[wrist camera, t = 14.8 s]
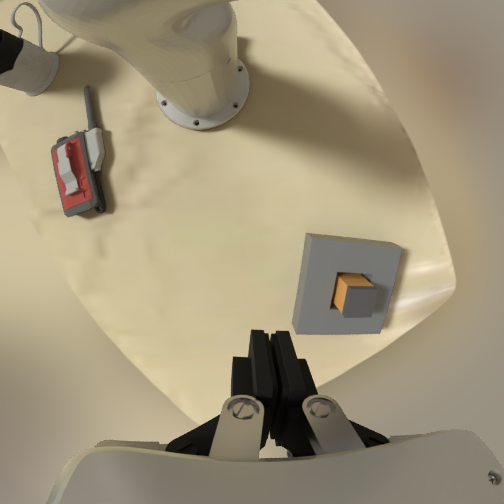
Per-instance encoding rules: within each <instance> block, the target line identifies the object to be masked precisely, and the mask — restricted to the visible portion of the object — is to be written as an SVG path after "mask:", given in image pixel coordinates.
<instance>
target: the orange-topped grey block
mask: <svg viewBox="0 0 504 504" xmlns="http://www.w3.org/2000/svg"><path fill="white" fill-rule="evenodd" d="M377 292H378V289H377V288H376V287H374V286H373V285H372V284H371V283H370V282H369V281H368V280H366V279H365V278H364V277H363V276H362V275H361V274H360V273H347V272H337V275H336V281H335V286H334V291H333V295H332V301H333V302H334V304H335V305H336V306H337V308H338V309H339V311H340V312H341V314H342V315H343V316H344V318H368V317H372V313H373V309H374V305H375V301H376V297H377Z"/></svg>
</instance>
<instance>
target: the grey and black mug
mask: <svg viewBox="0 0 504 504" xmlns="http://www.w3.org/2000/svg"><path fill="white" fill-rule="evenodd" d="M24 4H25V5H27V6H29V7H30V8H31V9H32V10H33V11H34V13H35V15H36V17H37V21H38V29H39V47H38V46H36V45H34V44H32V43H31V42H29V41H27V40H25V39H23V38H20V37H21V35H22V32H23V29H22V27H21V26H19V25H18V24H17V23H16V22H15V13H16V10H17V9H18V8H19V7H20V6H21V5H24ZM11 22H12V24H13V26H14V27H16V28H17V29H19V35H18V37H16V36H14V35H12V34H10V33H8V32H6V31H4V30H2V29H0V85H3V86H6V87H10V88H14V89H17V90H20V91H24V92H25V93H26V94H27V95H29V96H36V95H39V94H40V93H42V92H43V91H44V90H45V89H46V88H47V87H48V86H49V85H50V84H51V82H52V81H53V79H54V77H55V75H56V73H57V70H58V67H59V57H58V55H57V54H56V53H55V52H47V51H46V50H45V49H44V48H43V46H42V21H41V17H40V15H39V12H38V11H37V9H36V8H35V7H34V6H33V5H32V4H30V3H28V2H24V3H21V4H19V5H18V6H17V7H16V8H15V9H14V11H13V12H12V15H11Z"/></svg>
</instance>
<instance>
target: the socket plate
mask: <svg viewBox="0 0 504 504" xmlns="http://www.w3.org/2000/svg"><path fill="white" fill-rule="evenodd" d="M401 252H402V247H400V246H398V245H396V244H393V243H391V242H385V241H376V240H367V239H358V238H349V237H340V236H330V235H321V234H311V233H306V237H305V244H304V251H303V258H302V265H301V272H300V278H299V284H298V291H297V297H296V303H295V308H294V314H293V320H292V324H293V327H294V330H295V332H296V334H307V335H347V334H380V332H381V329H382V326H383V323H384V319H385V316H386V313H387V309H388V306H389V302H390V298H391V295H392V291H393V287H394V283H395V279H396V275H397V270H398V266H399V262H400V257H401ZM337 272H347V273H360V274H361V275H362V276H363V277H364V278H365V279H366V280H368V281H369V282H370V283H371V284H372V285H373V286H374V287H376V288H377V289H378V292H377V297H376V301H375V305H374V309H373V313H372V317H368V318H344V316H343V315H342V314H341V312H340V311H339V309H338V308H337V306H336V305H335V304H334V302H333V301H332V295H333V291H334V286H335V281H336V275H337Z"/></svg>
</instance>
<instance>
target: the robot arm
mask: <svg viewBox="0 0 504 504" xmlns="http://www.w3.org/2000/svg"><path fill="white" fill-rule="evenodd" d="M232 1H237V0H38V2H39V4H40V6H41V7H42V9H43V10H44V12H45V13H46V14H47V15H48V16H49V17H50V18H51V20H52V21H53V22H55V23H56V24H57V25H59V26H60V27H61V28H63V29H65V30H66V31H68V32H69V33H71V34H73V35H75V36H77V37H79V38H81V39H84V40H86V41H89V42H91V43H94V44H97V45H100V46H102V47H105V48H108V49H110V50H112V51H114V52H116V53H118V54H119V55H120V56H122V57H123V58H124V59H125V60H127V61H128V62H129V63H130V64H131V65H132V66H133V67H134V68H135V69H136V70H137V71H138V72H139V73H140V74H141V75H142V76H143V77H144V78H145V79H146V80H147V81H148V82H149V83H150V84H151V85H152V86H153V87H154V88H155V89H156V96H157V102H158V104H159V107H160V109H161V110H162V112H163V113H164V115H165V116H166V117H167V118H168V119H170V120H171V121H172V122H174V123H175V124H177V125H179V126H181V127H184V128H188V129H195V130H203V129H210V128H214V127H217V126H220V125H222V124H224V123H226V122H227V121H229V120H230V119H232V118H233V117H234V116H235V115H236V114H237V113H238V112H239V111H240V110H241V109H242V107H243V106H244V104H245V102H246V100H247V97H248V93H249V86H250V81H249V75H248V72H247V69H246V67H245V66H244V64H243V63H242V61H241V60H240V59H239V58H238V57H237V19H236V15H235V12H234V10H233V8H232V6H231V4H230V2H232ZM238 70H242V71H241V72H239V71H238ZM165 103H167V105H166V106H164V104H165ZM235 105H237V106H238V107H237V108H234V106H235ZM197 122H199V125H198V126H197V125H196V123H197ZM269 431H270V438H271V439H275V442H276V446H282V447H284V448H286V449H287V456H288V458H259V451H260V450H261V449H262V448H263V447H264V446H265V444H266V440H267V439H268V434H269ZM46 504H504V468H503V466H502V465H501V463H500V462H499V461H498V459H497V458H496V456H495V455H494V454H493V452H492V451H491V450H490V448H489V447H488V446H487V445H486V444H485V442H484V441H483V440H482V439H481V438H480V437H479V436H477V435H476V434H475V433H474V432H471V431H468V430H462V429H450V430H441V431H436V432H431V433H427V434H417V435H403V436H390V437H389V438H386V437H385V436H383V435H381V434H379V433H377V432H375V431H372V430H370V429H368V428H366V427H364V426H361V425H359V424H357V423H355V422H352V421H351V420H348V418H347V417H346V415H345V414H344V412H343V411H342V409H341V407H340V406H339V404H338V403H337V402H336V401H335V400H334V399H332V398H331V397H328V396H325V395H318V393H317V390H316V387H315V384H314V381H313V378H312V375H311V373H310V370H309V367H308V364H307V361H306V359H297V356H296V353H295V349H294V346H293V343H292V340H291V337H290V333H289V331H276V333H275V334H271V338H270V340H269V335H268V333H264V330H252V329H251V335H250V344H249V353H248V357H233V363H232V377H231V397H230V398H228V399H227V400H226V401H225V403H224V404H223V408H222V411H221V414H220V415H218V416H216V417H215V418H213V419H211V420H209V421H208V422H206V423H204V424H202V425H201V426H199V427H197V428H195V429H194V430H191V431H190V432H188V433H186V434H184V435H182V436H180V437H178V438H176V439H174V440H173V441H171V442H170V443H169V444H159V442H136V441H118V440H104V441H101V442H99V443H98V444H97V445H96V446H95V447H94V448H91V449H86V450H83V451H80V452H78V453H77V454H75V455H74V456H73V457H72V458H71V459H70V460H69V461H68V462H67V464H66V465H65V466H64V468H63V469H62V471H61V473H60V474H59V477H58V478H57V480H56V482H55V484H54V486H53V489H52V491H51V493H50V496H49V498H48V501H47V503H46Z"/></svg>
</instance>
